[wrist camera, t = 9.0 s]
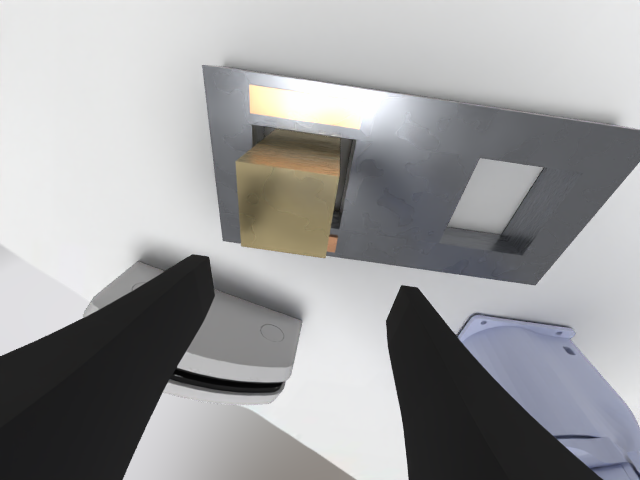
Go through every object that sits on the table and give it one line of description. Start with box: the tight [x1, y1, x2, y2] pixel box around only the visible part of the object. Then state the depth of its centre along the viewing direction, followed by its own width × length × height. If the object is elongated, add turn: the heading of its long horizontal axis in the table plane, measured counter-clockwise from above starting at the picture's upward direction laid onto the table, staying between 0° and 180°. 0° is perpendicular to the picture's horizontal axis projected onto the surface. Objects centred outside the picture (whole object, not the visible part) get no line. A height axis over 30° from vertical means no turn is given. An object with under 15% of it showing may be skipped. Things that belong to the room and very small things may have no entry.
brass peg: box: [235, 129, 340, 258], centre depth 13 cm, size 4×4×7 cm
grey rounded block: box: [83, 261, 302, 405], centre depth 21 cm, size 17×5×10 cm, turn 65°
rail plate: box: [202, 65, 640, 285], centre depth 15 cm, size 22×10×3 cm, turn 83°
